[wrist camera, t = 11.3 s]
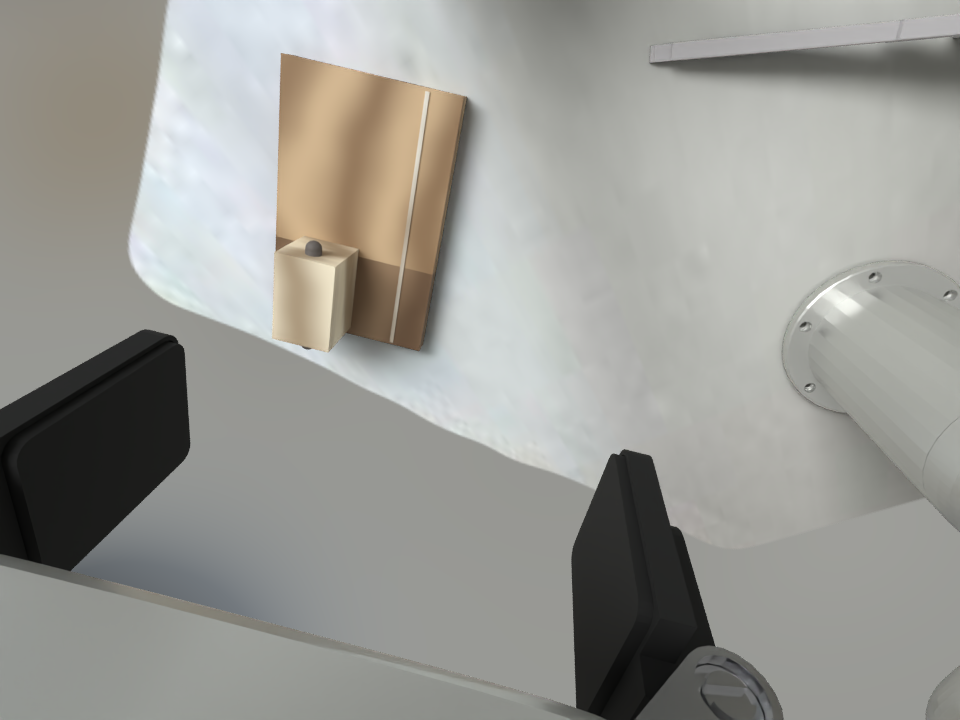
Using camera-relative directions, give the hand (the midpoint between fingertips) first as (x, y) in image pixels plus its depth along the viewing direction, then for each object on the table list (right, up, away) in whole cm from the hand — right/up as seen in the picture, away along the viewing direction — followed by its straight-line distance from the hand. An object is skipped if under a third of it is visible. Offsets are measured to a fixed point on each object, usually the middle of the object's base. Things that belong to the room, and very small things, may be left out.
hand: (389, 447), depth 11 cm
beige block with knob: (-11, +8, +32) cm, 35 cm away
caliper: (+23, +22, +22) cm, 39 cm away
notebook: (-7, +14, +31) cm, 34 cm away
